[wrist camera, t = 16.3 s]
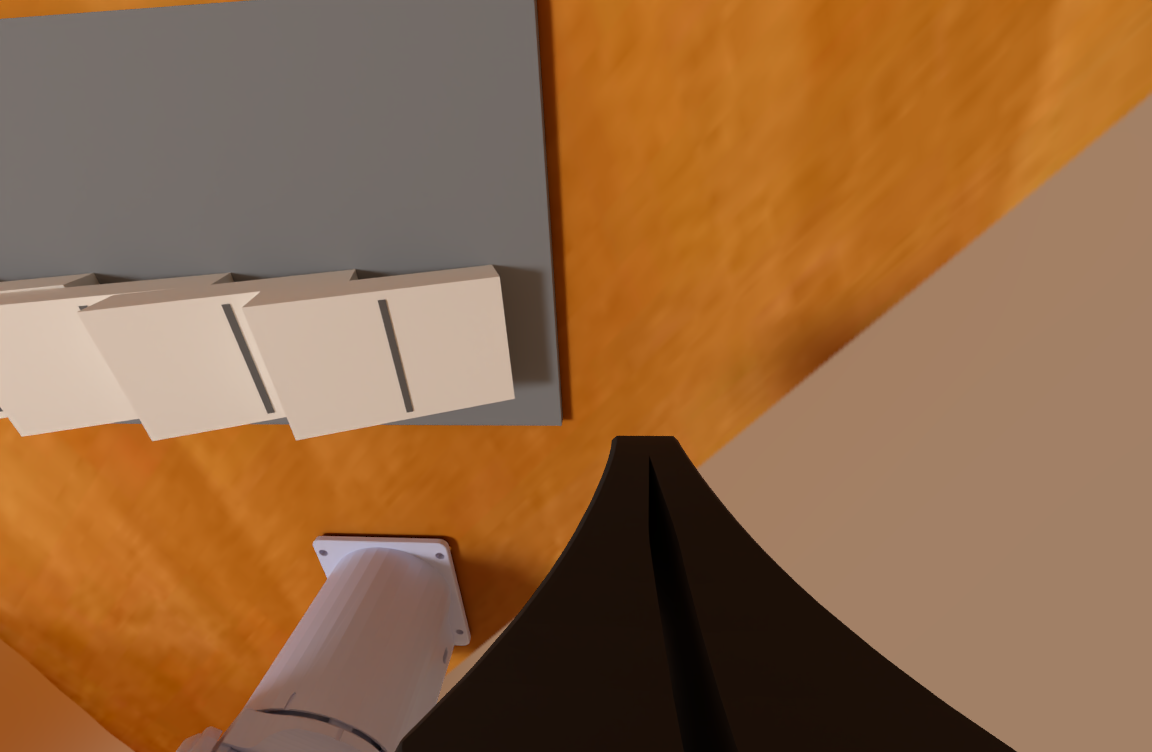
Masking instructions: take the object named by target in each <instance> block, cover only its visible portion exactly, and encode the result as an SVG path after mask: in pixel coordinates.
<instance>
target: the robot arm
mask: <svg viewBox="0 0 1152 752" xmlns="http://www.w3.org/2000/svg"><path fill="white" fill-rule="evenodd" d="M313 547H314V549H315V551H316V553H317V556H318V558H319V560H320V563H321V565H322V567H323V569H324V572H325V574H326V576H327V580H326V582H325V584H324V585H323V587H322V588H321V590H320V591H319V593H318V594H317V596H316V597H315V599H314V601H313V602H312V604H311V605H310V607H309V608H308V610H307V611H306V613H305V614H304V616H303V617H302V619H301V621H300V622H299V624H298V625H297V627H296V628H295V630H294V631H293V633H292V634H291V636H290V637H289V639H288V641H287V642H286V644H285V645H284V647H283V648H282V650H281V651H280V653H279V654H278V656H277V657H276V659H275V661H274V662H273V664H272V665H271V667H270V668H269V670H268V671H267V673H266V674H265V676H264V677H263V679H262V681H261V682H260V684H259V685H258V687H257V688H256V690H255V691H254V693H253V694H252V696H251V698H250V699H249V701H248V702H247V704H246V705H245V707H244V708H243V710H242V711H241V712H240V714H239V715H238V716H237V718H236V719H235V720H234V721H233V723H232V724H231V725H230V726H229V728H228V729H227V730H226V732H225V733H224V734H223V735H222V737H221V738H220V739H219V737H220V735H221V733H222V730H219V729H217V728H215V727H208V728H206V729H205V730H204V731H203V733H202V734H200V733H198V734H196V735H194V736H192V737H189V738H187V739H185V740H184V741H183V743H182V744H181V746H180V747H179V748H178V750H177V751H176V752H1016V751H1015V750H1013V749H1012V748H1011V747H1009V746H1008V745H1006V744H1005V743H1003V742H1002V741H1000V740H999V739H997V738H996V737H995V736H993V735H992V734H990V733H989V732H987V731H986V730H984V729H983V728H981V727H980V726H978V725H977V724H976V723H974V722H972V721H971V720H970V719H968V718H966V717H965V716H964V715H962V714H961V713H959V712H958V711H956V710H955V709H953V708H952V707H951V706H949V705H948V704H946V703H945V702H944V701H942V700H941V699H939V698H938V697H937V696H935V695H934V694H933V693H931V692H930V691H929V690H927V689H926V688H925V687H923V686H922V685H921V684H919V683H918V682H917V681H915V680H914V679H913V678H911V677H910V676H909V675H907V674H906V673H904V672H903V671H902V670H901V669H899V668H898V667H897V666H895V665H894V664H893V663H891V662H890V661H889V660H887V659H886V658H885V657H884V656H882V655H881V654H880V653H878V652H877V651H876V650H875V649H873V648H872V647H871V646H870V645H868V644H867V643H866V642H865V641H864V640H862V639H861V638H860V637H859V636H858V635H856V634H855V633H854V632H853V631H852V630H850V629H849V628H848V627H847V626H846V625H844V624H843V623H842V622H841V621H840V620H838V619H837V618H836V617H835V616H833V615H832V614H831V613H830V612H829V611H828V610H826V609H825V608H824V607H823V606H822V605H820V604H819V603H818V602H817V601H816V600H815V599H814V598H813V597H812V596H810V595H809V594H808V593H807V592H806V591H805V590H804V589H803V588H802V587H801V586H799V585H798V584H797V583H796V582H795V581H794V580H793V579H792V578H791V577H790V576H789V575H788V574H787V573H786V572H785V571H784V570H783V569H782V568H781V567H780V566H779V565H778V564H777V563H776V562H775V561H774V560H773V559H772V558H771V557H770V556H769V555H768V554H767V553H766V552H765V551H764V550H763V549H762V548H761V547H760V546H759V545H758V544H757V543H756V542H755V541H754V539H753V538H752V537H751V536H750V535H749V534H748V533H747V532H746V530H745V529H744V528H743V527H742V526H741V525H740V524H739V523H738V522H737V520H736V519H735V518H734V517H733V516H732V514H731V513H730V512H729V511H728V510H727V508H726V507H725V506H724V505H723V503H722V502H721V501H720V500H719V498H718V497H717V496H716V495H715V493H714V492H713V491H712V490H711V488H710V487H709V486H708V484H707V483H706V482H705V480H704V479H703V478H702V476H701V475H700V473H699V472H698V471H697V469H696V468H695V466H694V465H693V464H692V462H691V461H690V459H689V458H688V456H687V455H686V453H685V452H684V450H683V448H682V447H681V445H680V443H679V442H678V440H677V439H676V438H675V437H674V436H616V437H615V438H614V439H613V440H612V444H611V450H610V454H609V458H608V461H607V464H606V467H605V470H604V473H603V475H602V478H601V480H600V482H599V485H598V487H597V489H596V491H595V494H594V496H593V498H592V500H591V502H590V504H589V506H588V508H587V510H586V512H585V514H584V516H583V518H582V520H581V521H580V523H579V525H578V527H577V529H576V531H575V532H574V534H573V536H572V538H571V539H570V541H569V543H568V544H567V546H566V548H565V549H564V551H563V552H562V554H561V555H560V557H559V558H558V560H557V561H556V563H555V564H554V566H553V568H552V569H551V570H550V572H549V573H548V575H547V576H546V578H545V579H544V580H543V582H542V583H541V584H540V586H539V587H538V588H537V590H536V591H535V593H534V594H533V595H532V597H531V598H530V599H529V601H528V602H527V603H526V605H525V606H524V607H523V608H522V610H521V611H520V612H519V614H518V615H517V616H516V617H515V619H514V620H513V621H512V622H511V623H510V624H509V626H508V627H507V628H506V629H505V630H504V631H503V633H502V634H501V635H500V636H499V637H498V638H497V639H496V641H495V642H494V643H493V644H492V645H491V646H490V648H489V649H488V650H487V651H486V652H485V653H484V655H483V656H482V657H481V658H480V659H479V660H478V662H477V663H476V664H475V665H474V666H473V667H472V668H471V669H470V670H469V671H468V672H467V673H466V675H465V676H464V677H463V678H462V679H461V680H460V681H459V682H458V683H457V684H456V685H455V686H454V687H453V688H452V689H451V690H450V691H449V692H448V693H447V694H446V695H445V696H444V697H443V698H442V699H441V700H440V701H439V702H438V703H437V700H438V697H439V693H440V690H441V687H442V684H443V680H444V677H445V674H446V671H447V667H448V664H449V661H450V658H451V655H452V651H453V648H454V645H460V646H465V645H468V644H469V643H470V639H471V635H470V631H469V627H468V623H467V618H466V614H465V610H464V606H463V602H462V598H461V594H460V589H459V585H458V581H457V577H456V573H455V569H454V564H453V560H452V556H451V552H450V548H449V545H448V543H447V542H446V541H445V540H443V539H429V538H389V537H349V536H318V537H317V538H316V539H315V541H314V542H313ZM436 703H437V704H436ZM218 739H219V741H217V740H218Z"/></svg>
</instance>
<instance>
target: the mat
mask: <svg viewBox="0 0 1152 752" xmlns="http://www.w3.org/2000/svg"><path fill="white" fill-rule="evenodd" d="M484 265H492V266H493V267H494V269H495V270H496V272H497V273H498V275H499V276H500V284H501V292H502V300H503V308H504V316H505V324H506V332H507V340H508V348H509V356H510V364H511V372H512V380H513V388H514V396H515V399H511V400H506V401H500V402H495V403H490V404H485V405H479V406H474V407H469V408H464V409H458V410H453V411H448V412H443V413H437V414H432V415H427V416H422V417H416V418H411V419H406V420H400V421H395V422H390V423H385V424H379V425H559V426H562V420H563V414H562V398H561V382H560V366H559V350H558V334H557V318H556V302H555V286H554V270H553V254H552V238H551V222H550V206H549V190H548V174H547V158H546V142H545V126H544V110H543V94H542V78H541V62H540V46H539V31H538V15H537V0H252V1H238V2H225V3H211V4H198V5H184V6H171V7H157V8H143V9H130V10H116V11H103V12H89V13H76V14H62V15H48V16H35V17H21V18H8V19H0V282H5V281H15V280H26V279H36V278H47V277H57V276H68V275H78V274H89V273H94V275H95V276H96V278H97V280H98V282H99V284H110V283H121V282H132V281H143V280H154V279H165V278H176V277H187V276H199V275H210V274H221V273H231V276H232V278H233V281H234V282H240V281H249V280H259V279H268V278H278V277H287V276H296V275H306V274H315V273H324V272H334V271H343V270H352V269H355V270H356V273H357V277H358V280H360V279H369V278H378V277H387V276H395V275H404V274H413V273H422V272H431V271H440V270H448V269H457V268H466V267H475V266H484ZM114 423H130V424H142V423H141V421H140V419H134V420H128V421H121V422H114ZM250 424H289V422H288V420H287V417H284V418H278V419H273V420H267V421H262V422H256V423H250Z"/></svg>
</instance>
